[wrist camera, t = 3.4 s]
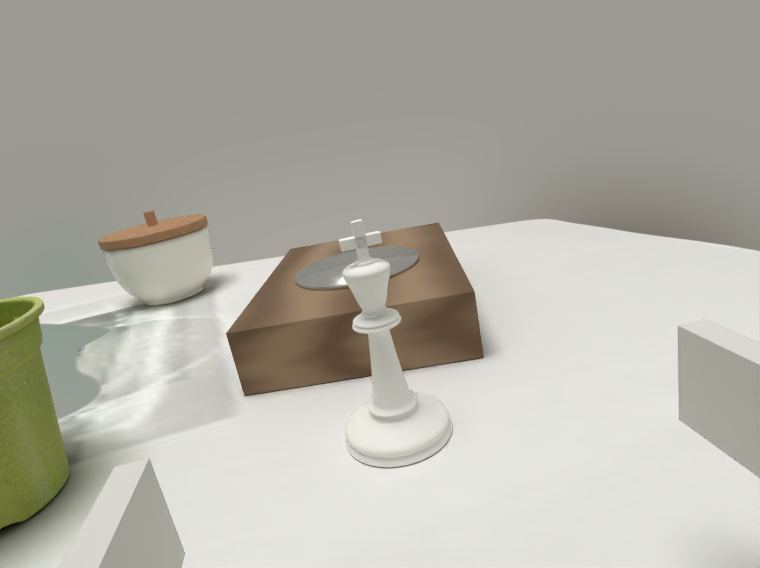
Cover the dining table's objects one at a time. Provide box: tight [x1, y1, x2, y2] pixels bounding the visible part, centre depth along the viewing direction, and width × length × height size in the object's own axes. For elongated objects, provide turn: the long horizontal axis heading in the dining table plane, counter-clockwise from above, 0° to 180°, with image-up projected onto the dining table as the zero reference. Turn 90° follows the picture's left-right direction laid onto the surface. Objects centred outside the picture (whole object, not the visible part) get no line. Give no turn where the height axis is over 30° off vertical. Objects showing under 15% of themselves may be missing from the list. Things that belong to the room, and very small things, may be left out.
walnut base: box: [226, 223, 483, 396], centre depth 38 cm, size 14×20×4 cm
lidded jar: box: [98, 210, 213, 306], centre depth 54 cm, size 11×11×9 cm
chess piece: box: [339, 219, 452, 467], centre depth 22 cm, size 5×5×10 cm
